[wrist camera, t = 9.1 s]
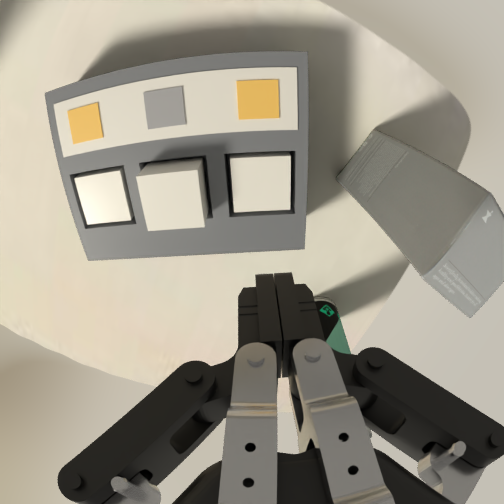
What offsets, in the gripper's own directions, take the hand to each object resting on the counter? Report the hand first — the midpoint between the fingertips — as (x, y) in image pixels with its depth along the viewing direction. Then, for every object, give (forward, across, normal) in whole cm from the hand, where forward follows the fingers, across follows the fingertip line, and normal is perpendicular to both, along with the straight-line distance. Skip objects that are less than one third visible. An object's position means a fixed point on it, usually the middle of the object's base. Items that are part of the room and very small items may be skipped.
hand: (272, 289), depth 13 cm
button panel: (+17, +6, -2) cm, 18 cm away
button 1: (+15, 0, 0) cm, 15 cm away
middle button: (+13, +6, 0) cm, 14 cm away
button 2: (+15, +13, 0) cm, 20 cm away
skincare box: (+17, -13, +1) cm, 21 cm away
